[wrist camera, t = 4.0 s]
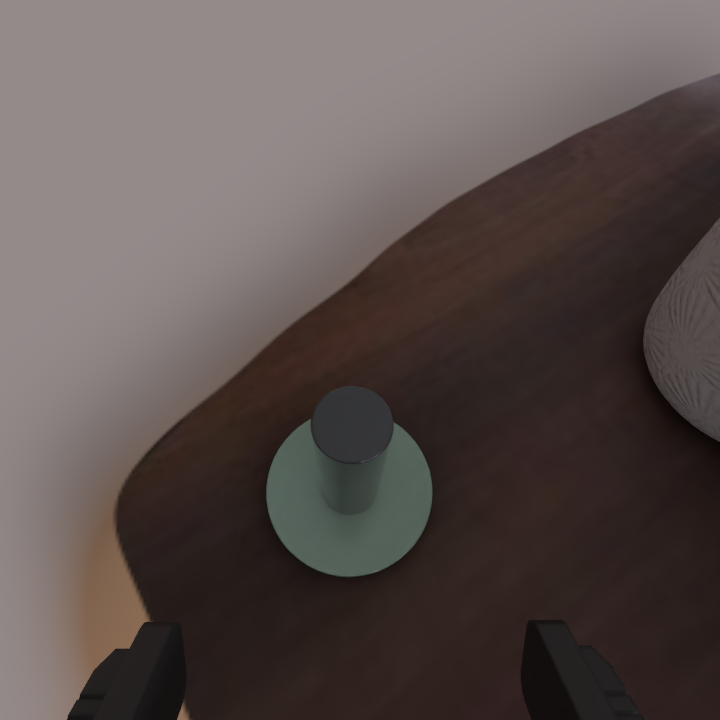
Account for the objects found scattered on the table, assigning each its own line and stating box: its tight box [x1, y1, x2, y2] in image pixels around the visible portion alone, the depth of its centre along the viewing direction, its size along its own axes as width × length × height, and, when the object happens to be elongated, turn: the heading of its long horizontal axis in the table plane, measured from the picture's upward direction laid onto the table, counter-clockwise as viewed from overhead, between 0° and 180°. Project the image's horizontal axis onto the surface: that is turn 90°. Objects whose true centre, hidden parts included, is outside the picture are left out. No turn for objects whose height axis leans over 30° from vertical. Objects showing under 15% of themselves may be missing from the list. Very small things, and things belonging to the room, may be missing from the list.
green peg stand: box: [266, 386, 433, 577], centre depth 20 cm, size 8×8×9 cm
